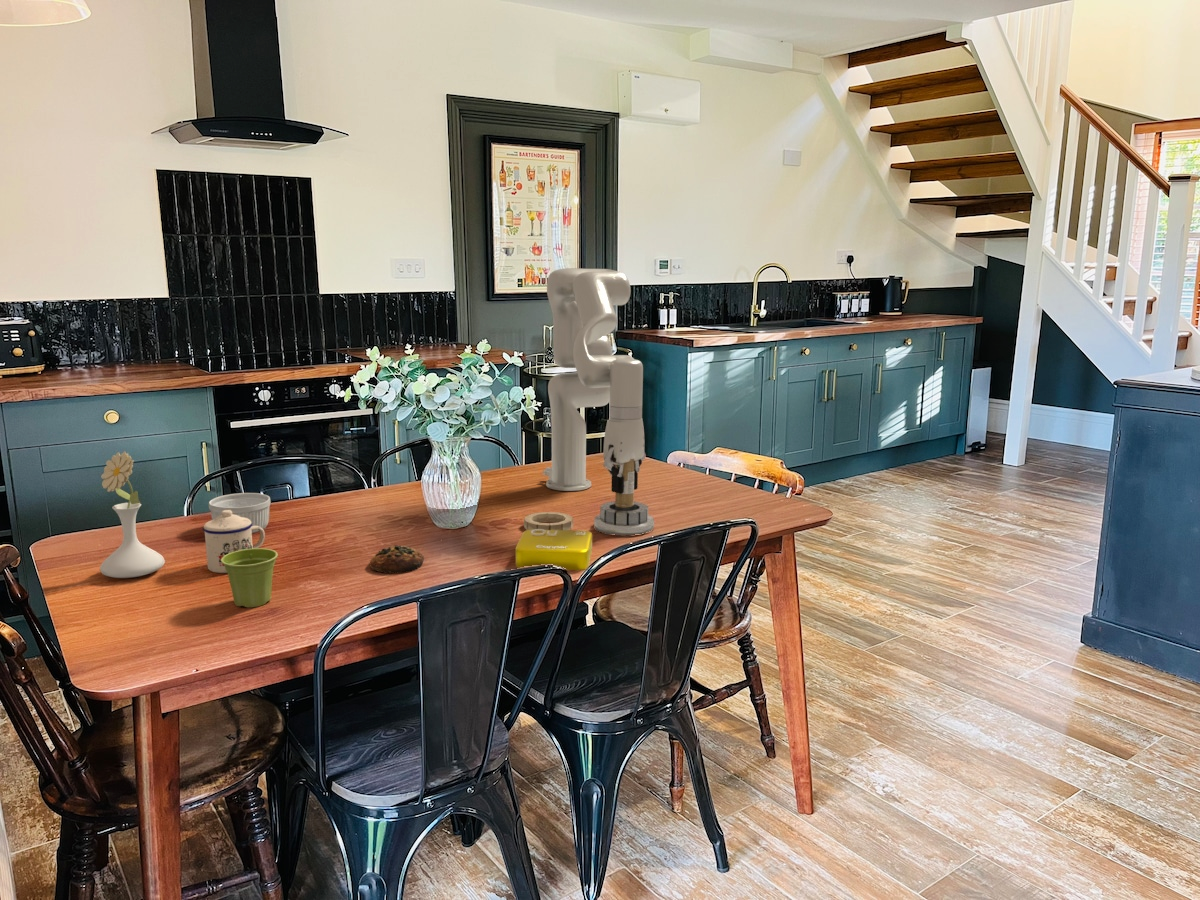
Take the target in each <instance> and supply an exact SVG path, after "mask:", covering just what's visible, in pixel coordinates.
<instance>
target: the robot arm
mask: <svg viewBox="0 0 1200 900" xmlns="http://www.w3.org/2000/svg"><path fill="white" fill-rule="evenodd" d="M631 292H632V291H631V283H630V281H629V278H628V277H627V276H626V275H625V273H624V272H623V271H618V270H614V269H610V268H577V267H576V268H559V269H555V270H553V271H552V272H551V273H549V275H548V277H547V281H546V294H547V298H548V302H549V306H550V308H551V312H552V318H553V319H552V320H553V323H552V325H553V329H552V331H553V334H552V335H553V336H552V338H553V343H552V345H553V359H554V362H555V364H556V365H557V367H559V368H563V369H575V370H576V372H566V373H565V372H564V373H559V374H556V375H553V376H552V377H551V378H550V379H549V381H548V384H547V392H548V398H549V405H550V416H551V417H550V418H551V420H550V421H551V467H549V466H547V467H545V469H544V470H543V471H542V475H544V476H548V479H547V481H546V482H545V485H546V487H547V488H548V489H551V490H554V491H563V492H577V491H583V490H587V489H589V488H591V487H592V481H591V480H590V479H588V478H586V476H587V423H586V420H585V419H584V417H583V416H582V415H581V414H580V412H579V410H578V409H582V408H594V407H595V408H596V407H597V408H598V407H604V406H606V405H608V404H609V414H608V415H609V418H608V419H607V422H606V424H605V425H606V426H605V431H604V439H603V450H602V451H603V454H602V456H603V461H604V462H603V463H602V466H603V467H604V468H605V469H607V471H608V472H609V475H610V476H611V488H610V489H611V492H612V493H615V494H616V493H620V494H622V493H623V492H624V477H623V476H622V472H623V466H624V463H627V462H629V461H630V456H631V454H632V453H633V452H634V454H635V458H634V491H635V490H637V489H638V482H639V481H638V478H639V475H638V473H640V467H641V465H642V463H643V461H644V460H645V459H646V456H647V455H646V452H645V429H644V421H643V390H644V389H643V387H644V386H643V385H644V383H643V382H644V364H643V363H642V361H641V360H639V359H635V358H634V357H632V356H630V355H627V354H613V351H612V350H613V349H612V344H611V341H610V338H609V337H608V335H609V334H611V333H612V332H613V331H614V330H615V328H616V327H617V324H618V317H617V314H616V311H615V308H614V306H624V305H626V304H627V303H628V302H629V300H630V299H631V298H630V297H631ZM632 460H633V459H632ZM616 465H618V469H617V468H616Z"/></svg>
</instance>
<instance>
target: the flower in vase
mask: <svg viewBox="0 0 1200 900" xmlns="http://www.w3.org/2000/svg"><path fill="white" fill-rule="evenodd" d="M134 462H135V460H134V459H132V457H131V455H129V452H127V453H126V451H123V452H122V453H121V454H120V452H116V453H115V454H114V455H112V456H111V460H110V459H108V460H107V461H106V462H105V463H106V466H104V468H103V473H102V474H101V479H102V482H101V486H102V489H107V490H106V491H107V492H108V493H110V492H115V494H116V495H118V496H119V497H121V498H123V499H125V500H128V502H122V503H117V504H114V505H113V506H112V507H111V508H112V509H113V511H114V512H115V513H116V514H117V516H118V517H119V521H120V522H121V527H122V534H123V535H122V536H123V538H122V542H121V544H120V546H119V547H117V548H116V550H114V551H113V552H112V553H111V554H110V555H108V557H106V558H105V559H104V560H103V562H102V563H101V565H100V567H99V571H100V572H101V574H102V575H104V576H106V577H110V578H114V579H115V578H116V579H128V578H137V577H142V576H146V575H149V574H152V573H155V572H156V571H159V570H161V568H163V566H164V564H165V562H166V560H165V558H164V556H163V555H162V554H160V553H159V552H158V551H156V550H154V549H152V548H150V547H148V546H147V545H145V544H144V543H142V542H140V541H139V539H138V536H137V530H136V529H137V527H136V524H137V523H136V521H137V520H136V519H137V514H138V511H139V509H140V507H141V506H142V503H141V501H140V500H139V499H140V498H139V494H138V491H137V490H135V491H134V489H133V487H132V484H131V482H130V480H129V476H131V475H132V474H133V470H132V469H133V467H134V465H133V464H134ZM126 483H127V484H128V486H129V489H130V494H129V493H128V492H126V491H125V490H122V487H124V486H125V484H126Z"/></svg>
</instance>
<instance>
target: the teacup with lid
mask: <svg viewBox="0 0 1200 900" xmlns="http://www.w3.org/2000/svg"><path fill="white" fill-rule="evenodd" d="M221 514H222V515H221V516H218V517H217V518H215V519H214V520H212V519H211V520H209V521H207V522H205V524H204V525H203V528H202V530H203V532H204V539H205V553H206V563H207V569H208V571H210V572H213V573H216V574H228V573H227V571H226V569H225V566H224V564H223V563H222V562H221V559H222V557H223V556H225V555H227V554H229V553H231V552H235V551H239V550H244V549H253V548H261V547H262V545H263V543H265V538H266V533H265V529H262V528H261V527H259V526H252V523H251V521H250V520H249V519H248V518H244V517H240V516H238V515H234V514H232V511H231V510H224V511H222V513H221ZM252 530H259V531H258V533H259V538H258V541H257V542H256V543H255V544H254V545H253V533H252Z"/></svg>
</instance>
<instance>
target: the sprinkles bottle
mask: <svg viewBox="0 0 1200 900" xmlns="http://www.w3.org/2000/svg"><path fill="white" fill-rule="evenodd" d="M634 458H635V454H634V452H633V453H632V454H631V456H630V461H629V462H627V463H624V466H623V472H622V476H623V477H624V492H623V493H622V494H620V493H616V492H615V498H614V499H615V505H616V506H617V507H622V508H628V507H632V506H633V505H634V503H633V502H634V499H635V498H634V495H635V490H634ZM632 459H633V460H632ZM616 468H617V469H618V465H616Z"/></svg>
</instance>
